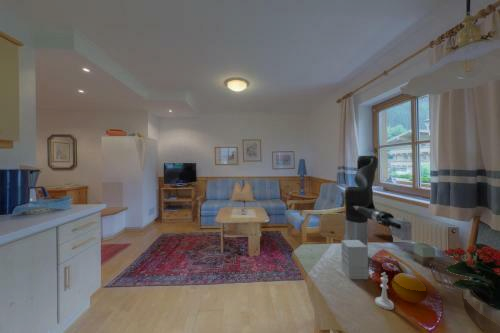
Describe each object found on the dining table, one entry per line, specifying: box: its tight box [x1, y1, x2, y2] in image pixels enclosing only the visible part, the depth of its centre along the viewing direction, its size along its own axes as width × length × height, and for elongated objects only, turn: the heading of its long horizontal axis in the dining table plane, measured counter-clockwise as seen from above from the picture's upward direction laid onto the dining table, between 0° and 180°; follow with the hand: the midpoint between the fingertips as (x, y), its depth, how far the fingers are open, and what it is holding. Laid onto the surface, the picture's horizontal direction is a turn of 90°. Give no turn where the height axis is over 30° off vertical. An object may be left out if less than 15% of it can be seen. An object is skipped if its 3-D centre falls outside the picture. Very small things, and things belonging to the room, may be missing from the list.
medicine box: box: [390, 217, 413, 241], centre depth 99 cm, size 8×4×9 cm, turn 179°
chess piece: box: [374, 271, 395, 310], centre depth 63 cm, size 5×5×10 cm
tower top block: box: [413, 242, 436, 258], centre depth 88 cm, size 5×5×4 cm
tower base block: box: [413, 251, 436, 267], centre depth 88 cm, size 5×5×4 cm
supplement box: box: [340, 239, 369, 280], centre depth 80 cm, size 7×7×13 cm
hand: (405, 227), depth 96 cm, fingers closed on medicine box, 4 cm apart
